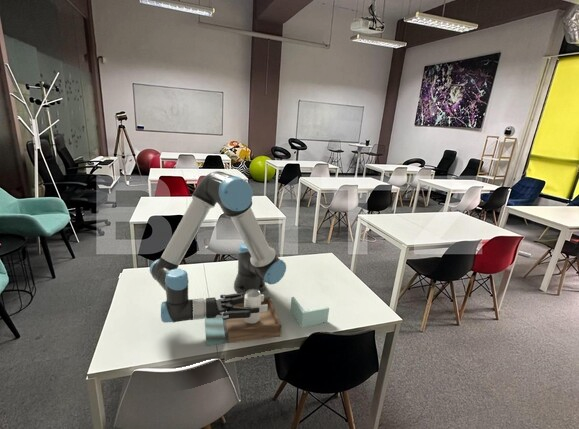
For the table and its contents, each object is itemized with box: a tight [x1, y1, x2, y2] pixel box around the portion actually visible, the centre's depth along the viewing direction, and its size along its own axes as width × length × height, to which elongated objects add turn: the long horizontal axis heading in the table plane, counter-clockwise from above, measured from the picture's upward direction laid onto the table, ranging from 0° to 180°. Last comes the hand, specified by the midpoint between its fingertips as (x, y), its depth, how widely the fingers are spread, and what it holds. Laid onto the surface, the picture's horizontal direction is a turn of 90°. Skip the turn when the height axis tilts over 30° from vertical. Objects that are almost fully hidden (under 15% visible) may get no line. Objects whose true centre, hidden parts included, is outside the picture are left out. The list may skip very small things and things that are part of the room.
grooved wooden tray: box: [204, 296, 282, 347], centre depth 129 cm, size 20×28×5 cm
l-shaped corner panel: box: [289, 296, 330, 328], centre depth 137 cm, size 12×12×8 cm
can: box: [243, 289, 262, 324], centre depth 126 cm, size 6×6×12 cm
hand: (265, 302), depth 127 cm, fingers closed on can, 6 cm apart
